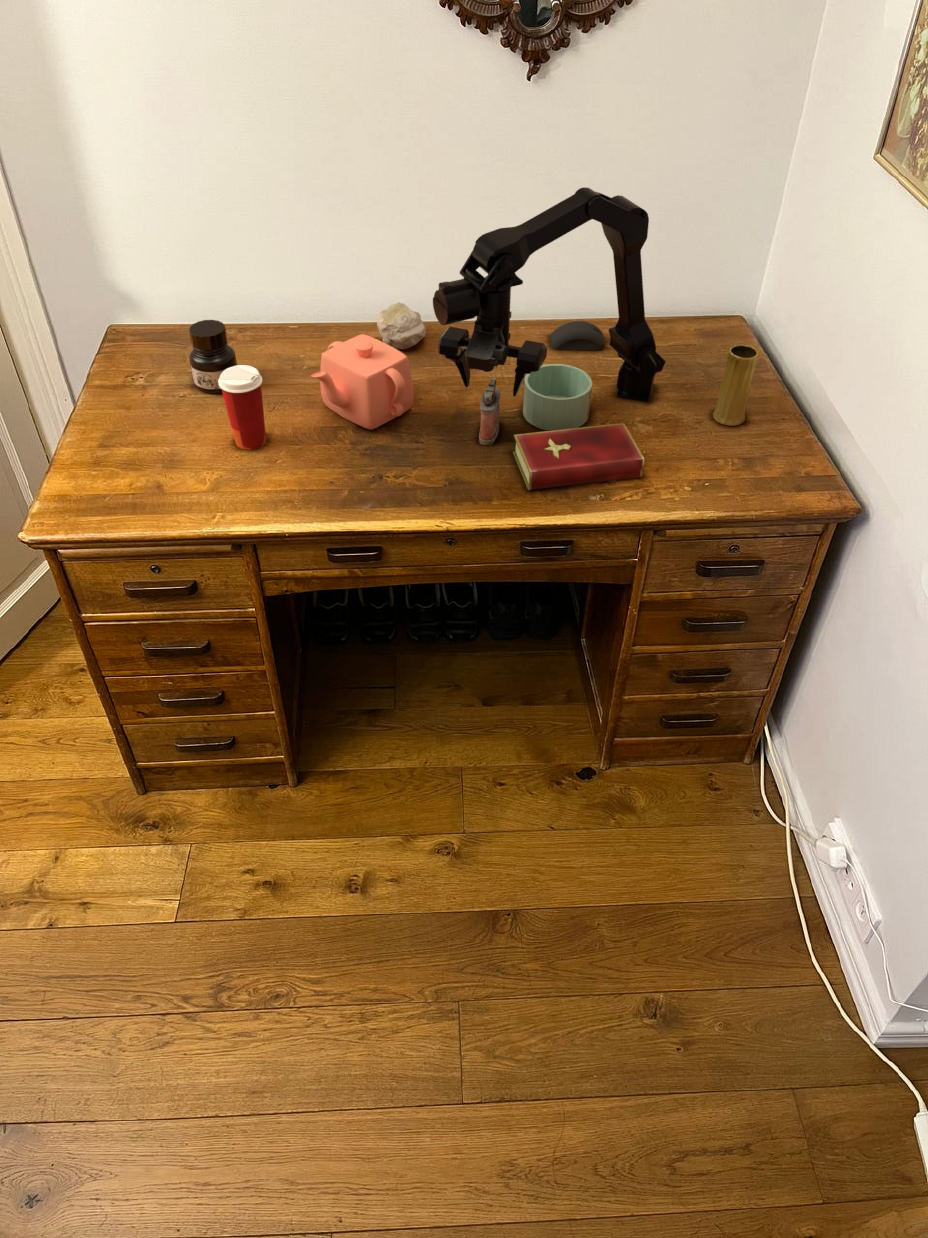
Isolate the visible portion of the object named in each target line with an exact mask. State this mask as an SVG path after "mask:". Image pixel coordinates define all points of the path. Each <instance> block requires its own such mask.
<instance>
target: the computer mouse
mask: <svg viewBox="0 0 928 1238" xmlns="http://www.w3.org/2000/svg"><path fill="white" fill-rule="evenodd" d="M550 347H551V349H552V350H556V351H593V352H594V351H601V350H603V348H604V347H605V337H604V333H603V331H602V330H601V329H600V328H599V327H598V326H596V325H595V324H593V323H591V322H588V321H582V320H575V321H570V322H566V323H564V324H562V325H560V326H558V327H557V328H555V329H554V330H553V331H552V332H551V333H550Z"/></svg>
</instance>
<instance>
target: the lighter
mask: <svg viewBox="0 0 928 1238" xmlns="http://www.w3.org/2000/svg"><path fill="white" fill-rule="evenodd" d="M500 402H501V389H500V388H499V387H497V379H496V378H493V377H492V378H491V379H490V380H489V382H488V385H487V386H485V389H484V391H483V393H482V395H481V398H480V402H479V411H480V429H479V434H478V436H479V439H478V440H479V441H478V442H479V444H481V445H484V446H489V445H492V444H493V443H494V442H495V440H496V439H497V437H498V436H499V435H498V434H499V431H500V420H499V415H500V411H501V410H500V409H501V404H500Z"/></svg>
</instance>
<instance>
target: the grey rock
mask: <svg viewBox="0 0 928 1238" xmlns="http://www.w3.org/2000/svg"><path fill="white" fill-rule="evenodd" d="M376 315H377V321H376V327H377V329H378V331H379V332H378V333H379V335H380V336H381V338H382V342H383V343H386V344H387V345H389V346H391V347H393V348H395V349H397V350H407V349H409V348H411V347H413V346H415V345H417V344H418V343H419V342H420V341H422V340H423V338H425V337H426V331H427V327H426V326H425V324H424V322H423V320H422V316H421V314H420V312H418V311H415V310H413V309H411V308H410V307H409V306H408V305H406V304H405V303H404V302H400V301H397V302H396V303H393V304H391V305H390V306H388V307H387V308H385V309H384V310H381V311H380V312H378V313H377V314H376Z"/></svg>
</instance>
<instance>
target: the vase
mask: <svg viewBox="0 0 928 1238" xmlns="http://www.w3.org/2000/svg"><path fill="white" fill-rule="evenodd" d="M758 357H759V351H758V349H757V348H756V347H754V346H751V345H749V344H735V345H732V346H730V348H729V351H728V354H727V357H726V358H727V359H726V363H725V367H724V371H723V376H722V379H721V384H720V388H719V393H718V397H717V401H716V403H715V408H714V410H713V412H712V417H713V419H714V421H716V422H717V423H718V424H721V425H723V426H729V427H735V426H739V425H741V424H743V423H744V422H745V420H746V410H747V405H748V401H749V397H750V391H751V387H752V386H751V385H752V381H753V377H754V374H755V370H756V369H755V368H756V366H757V362H758Z"/></svg>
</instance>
